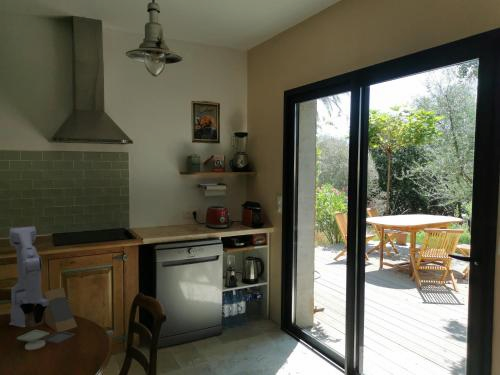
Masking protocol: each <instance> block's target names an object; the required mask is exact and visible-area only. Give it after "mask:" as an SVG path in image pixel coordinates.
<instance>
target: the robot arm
mask: <svg viewBox="0 0 500 375" xmlns="http://www.w3.org/2000/svg"><path fill="white" fill-rule="evenodd" d="M8 235H9V236H8V237H9V244H10V246H11V247H14V248H15V250H16V263H17V264H16V265H17V267H16V268H17V281H18V282H17V283H15V285H14V286H12V288H11V289H10V290H11V291H10V292H11V294H10V298H11V299H10V300H11V305H12V306H11V307H10V323H8V325H9V326H14V327H20V328H25V327H27V326H25V314H27V313H30V312H34V316H35V322H36V323H39V322H41V321H42V317H43V318H44V314H45V309H46V307H47V305H49V300H46V299H44V296H43V297H42V282H41V281H42V279H41V278H42V277H41V276H42V274H41V271H42V269H43V261H42V256H40V255H39V254H38V251H37V248H36V247H35V246H34V245H33V244H34V243H35V241H36V238H37V229H36V227H35V226H34V225H32V226H24V227H23V226H22V227H10V228H9V231H8Z"/></svg>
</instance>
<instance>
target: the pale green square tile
mask: <svg viewBox="0 0 500 375" xmlns="http://www.w3.org/2000/svg"><path fill="white" fill-rule="evenodd" d="M48 336H50V332H47V331H43V330H38V329H34V330H31V331H29V332H27V333H25V334H23V335H22V334H21V335H19V336H17V337H16V340H19V341H23V342H27V343H29V342H32V341H36V340H42V339H44V338H46V337H48Z"/></svg>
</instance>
